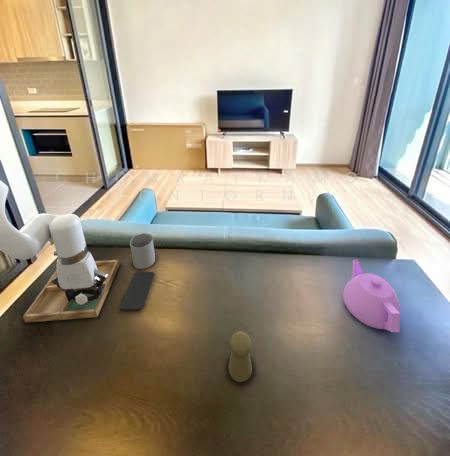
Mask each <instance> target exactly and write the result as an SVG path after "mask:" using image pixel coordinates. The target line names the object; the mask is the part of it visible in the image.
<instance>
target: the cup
mask: <svg viewBox="0 0 450 456" xmlns="http://www.w3.org/2000/svg"><path fill="white" fill-rule="evenodd" d="M129 246H130V253H131V258H132V264H133V267H134V268H136V269H138V270H144V269H148V268H150V267H151V266H152V265H154V263H155V262H156V254H155V246H154V237H153V236H152V234H150V233H147V232H145V233H144V232H143V233H139V234H136V235H135V236H133V237H132V238H131V239H130V240H129Z"/></svg>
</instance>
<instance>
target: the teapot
mask: <svg viewBox="0 0 450 456" xmlns="http://www.w3.org/2000/svg"><path fill="white" fill-rule="evenodd" d="M342 299H343V301H344V302H343V303H344V304H345V306H346V308H347V310H348V311H349V312H350V314H351V315H352V316H353V317H355V319H356V320H358V321H359V322H360V323H363V324H364V325H366V326H368V327H369V328H373V329H379V330H386V331H387V332H391V333H400V332H401V331H400V328H401V315H402V314H401V305H400V301H399V298H398V295H397V294H396V292H395V289H394V288H393V287H392V286H391V284H390V283H389V282H388V281H387V280H386V279H385V278H383V277H381V276H380V275H378V274H375V273H371V272H367V273H366V272H365V273H363V269H362V268H361V265H360V261H359V260H358V259H352V269H351V279H350V280H349V281H348V282H347V283H346V285H345V286H344V289H343V292H342Z"/></svg>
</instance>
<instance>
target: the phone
mask: <svg viewBox="0 0 450 456" xmlns="http://www.w3.org/2000/svg"><path fill="white" fill-rule="evenodd" d="M154 277H155V272H154V271H141V270H140V271H136V272H134V274H133V275H132V278H131V280H130V282H129V284H128V287H127V289H126V291H125V293H124V295H123V298H122V300H121V302H120V304H119V309H120V311H136V312H137V311H138V312H139V311H141V310H142V309H143V308H144V304H145V302H146V300H147V296H148V293H149V291H150V288H151V286H152V282H153V279H154Z"/></svg>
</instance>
